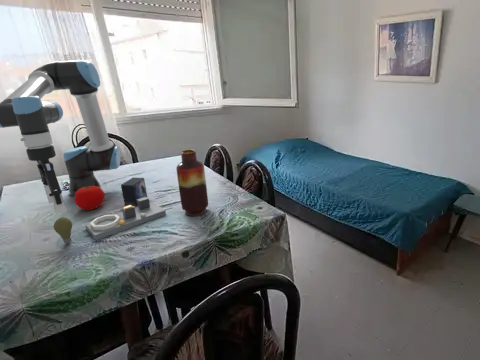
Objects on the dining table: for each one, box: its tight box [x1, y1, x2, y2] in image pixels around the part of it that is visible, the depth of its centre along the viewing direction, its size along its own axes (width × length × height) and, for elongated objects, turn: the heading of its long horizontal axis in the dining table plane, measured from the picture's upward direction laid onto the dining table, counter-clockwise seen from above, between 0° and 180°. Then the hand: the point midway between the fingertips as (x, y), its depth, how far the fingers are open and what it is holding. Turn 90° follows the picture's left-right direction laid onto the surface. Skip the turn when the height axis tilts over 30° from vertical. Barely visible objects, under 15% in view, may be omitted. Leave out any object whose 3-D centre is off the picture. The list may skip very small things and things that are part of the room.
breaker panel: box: [84, 201, 167, 241], centre depth 120 cm, size 13×28×4 cm, turn 131°
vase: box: [175, 149, 209, 217], centre depth 121 cm, size 11×11×26 cm
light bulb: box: [53, 217, 73, 245], centre depth 105 cm, size 6×6×10 cm
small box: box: [120, 177, 148, 207], centre depth 138 cm, size 11×6×10 cm, turn 168°
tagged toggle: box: [121, 205, 136, 219], centre depth 119 cm, size 3×4×4 cm
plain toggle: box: [137, 196, 150, 210], centre depth 127 cm, size 3×4×4 cm
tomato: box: [73, 185, 105, 210], centre depth 135 cm, size 11×12×10 cm
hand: (57, 207), depth 102 cm, fingers open, 13 cm apart
